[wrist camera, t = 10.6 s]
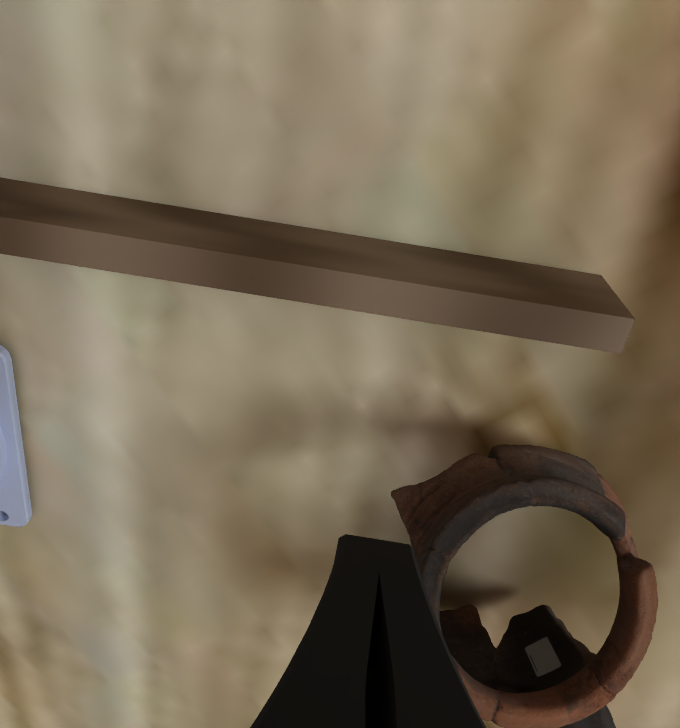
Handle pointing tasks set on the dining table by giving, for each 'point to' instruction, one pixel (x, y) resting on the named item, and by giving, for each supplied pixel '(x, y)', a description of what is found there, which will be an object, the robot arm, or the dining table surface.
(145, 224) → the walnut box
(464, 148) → the dining table surface
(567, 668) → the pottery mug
